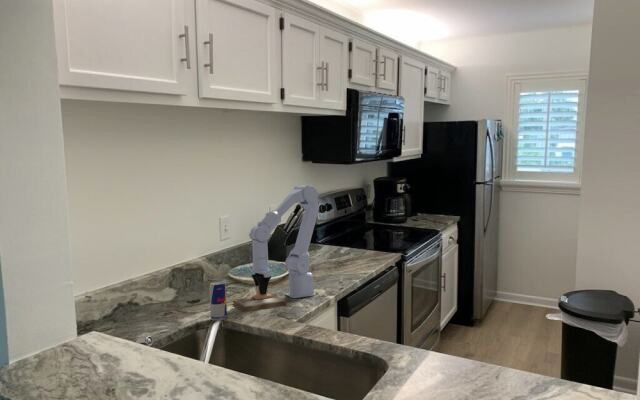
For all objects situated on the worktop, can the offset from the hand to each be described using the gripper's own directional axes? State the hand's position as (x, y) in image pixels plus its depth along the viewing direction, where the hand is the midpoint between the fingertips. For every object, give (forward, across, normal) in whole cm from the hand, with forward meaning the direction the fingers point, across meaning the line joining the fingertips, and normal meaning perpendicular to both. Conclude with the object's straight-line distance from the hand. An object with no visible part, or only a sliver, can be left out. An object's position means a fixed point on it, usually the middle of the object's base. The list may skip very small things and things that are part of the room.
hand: (261, 293), depth 186 cm
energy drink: (+3, +14, -20) cm, 25 cm away
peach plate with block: (+1, 0, 0) cm, 1 cm away
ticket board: (+3, +3, -2) cm, 5 cm away
